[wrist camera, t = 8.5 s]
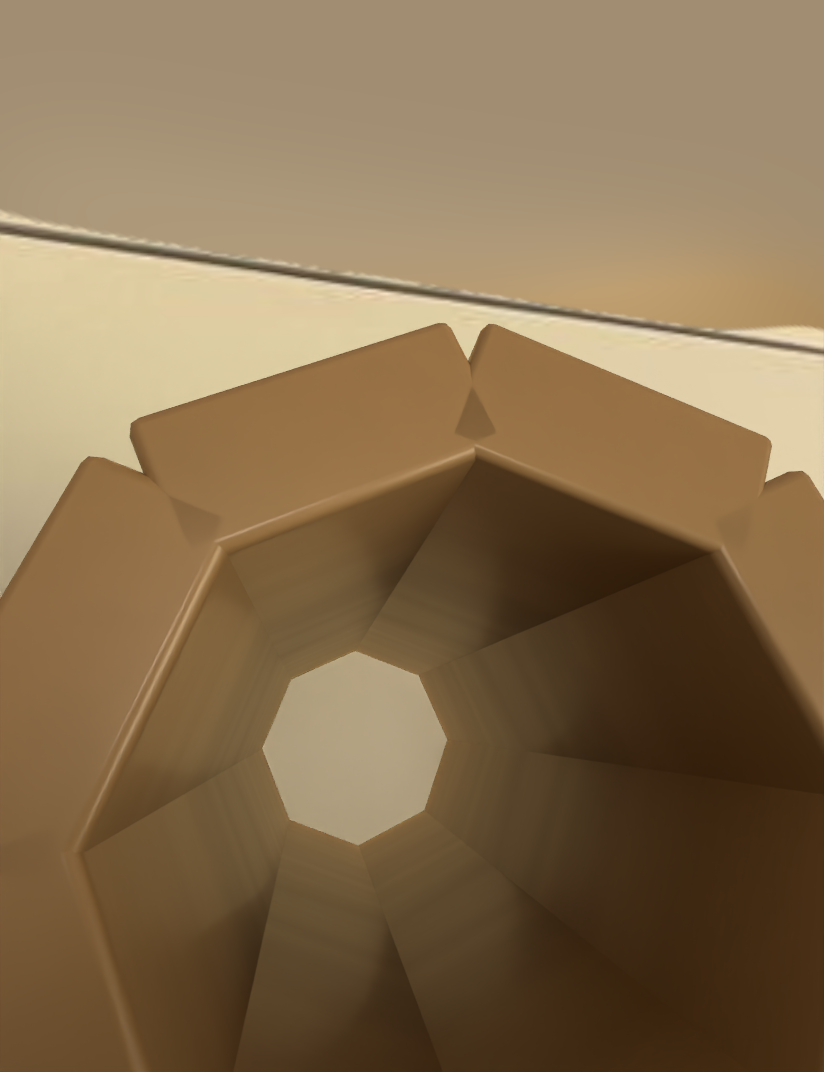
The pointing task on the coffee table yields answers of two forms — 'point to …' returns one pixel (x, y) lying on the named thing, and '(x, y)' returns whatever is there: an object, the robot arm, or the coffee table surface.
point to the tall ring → (463, 711)
